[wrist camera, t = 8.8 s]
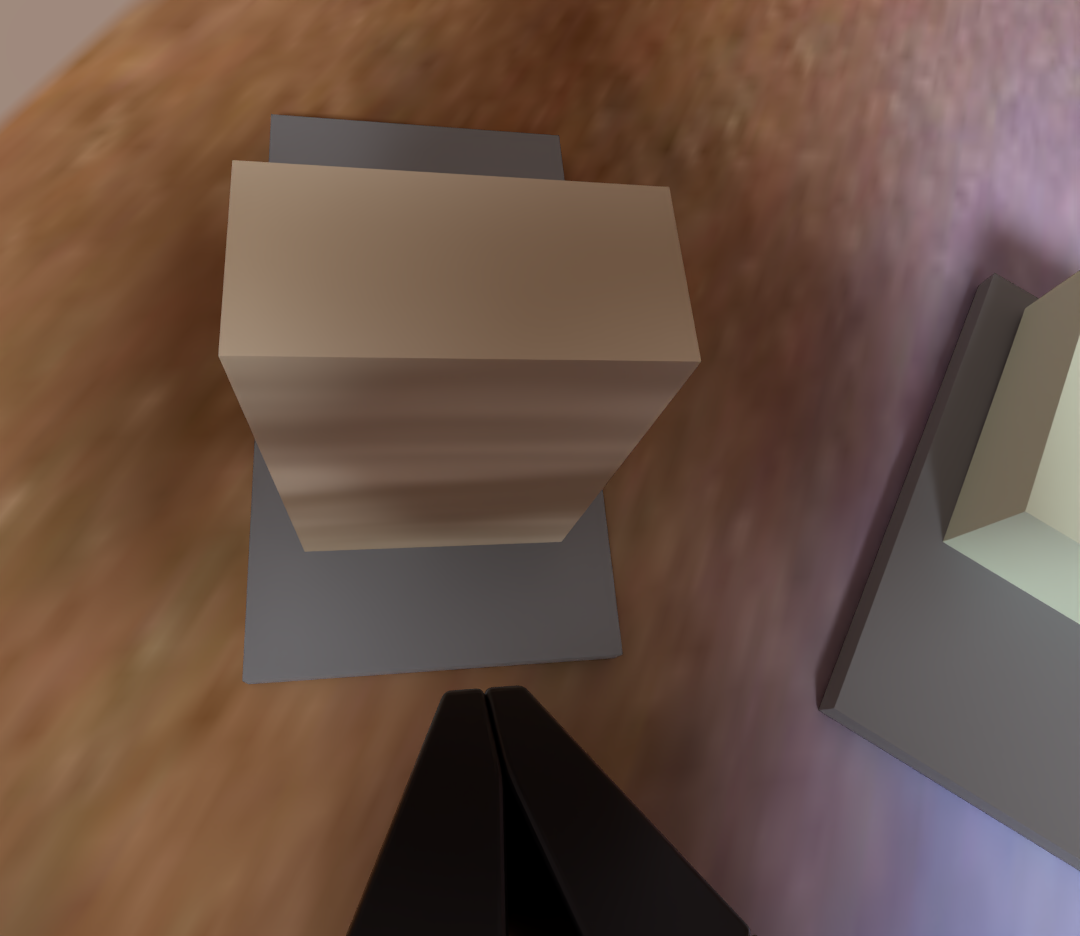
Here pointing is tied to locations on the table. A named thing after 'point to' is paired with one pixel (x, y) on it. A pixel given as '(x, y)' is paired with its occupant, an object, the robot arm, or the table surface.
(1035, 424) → the sage tile
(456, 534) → the cream tile
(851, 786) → the table surface
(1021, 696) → the pair of gray tiles
